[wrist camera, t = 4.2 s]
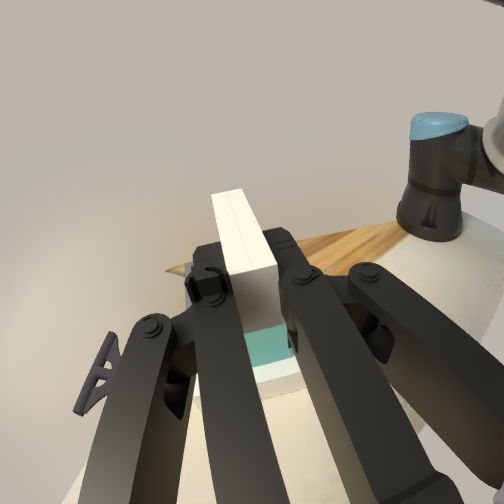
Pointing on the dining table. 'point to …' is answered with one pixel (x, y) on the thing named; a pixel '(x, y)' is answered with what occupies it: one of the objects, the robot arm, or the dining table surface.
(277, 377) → the white flat box
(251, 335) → the block
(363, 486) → the robot arm
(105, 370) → the bracket
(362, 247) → the dining table surface
